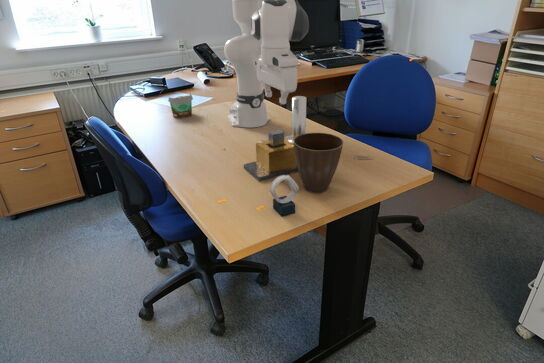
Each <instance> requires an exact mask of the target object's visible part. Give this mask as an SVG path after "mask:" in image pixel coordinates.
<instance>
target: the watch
mask: <svg viewBox="0 0 544 363" xmlns="http://www.w3.org/2000/svg"><path fill="white" fill-rule="evenodd" d="M282 181H285V183H286V184H287V185H288V186H289V188H290V189H291V192H290V193H289V195H283V196H280V197H278V196H277V193H276V188H277V186H278V184H280V183H282ZM299 189H300V188H299V185H298V184H297V183H296V181H295V180H294V179H293V178H292V177H291V176H290V175H289V174H286V175H281V176H278V177H275V178H273V181H272V182H271V184H270V188H269V192H270V194H271V196H272V197H273V199H272V208H273V210H274V211H275V212H276V213H277V214H278V215H279V216H280V217H281V218H284V217H287V216H291V215H294V214H296V203H295V202H294V201H293V200H294V199H295V198H296V197H297V194H298V192H299Z"/></svg>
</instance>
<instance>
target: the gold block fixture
mask: <svg viewBox="0 0 544 363" xmlns="http://www.w3.org/2000/svg"><path fill="white" fill-rule="evenodd" d="M306 125H307V97H306V96H302V95H295V96H292V98H291V134H290V135H286V136H284V146H281V147H276V148H270V147H269V140H263V139H262V140H259V142H256V143H255V150H256V151H255V155H256V159H255V160H256V161H251V162H248V163H244V164H243V170H245V171H246V172H248V173H249V174H250V175H251V176H252V177H253V178H255V179H256V181H258V182H263V181H266V180H270V179H275V178H277V177H278V176H281V175H286V176H287V175H289V174H293V173H297V172H298V173H299V170H298V166H297V161H296V156H295V149H294V139H295V138H296V137H297V136H299V135H302V134H306Z"/></svg>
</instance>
